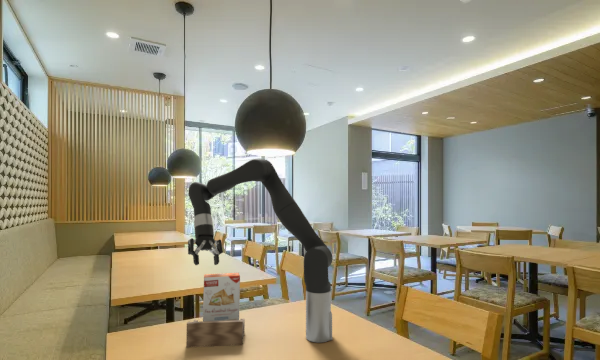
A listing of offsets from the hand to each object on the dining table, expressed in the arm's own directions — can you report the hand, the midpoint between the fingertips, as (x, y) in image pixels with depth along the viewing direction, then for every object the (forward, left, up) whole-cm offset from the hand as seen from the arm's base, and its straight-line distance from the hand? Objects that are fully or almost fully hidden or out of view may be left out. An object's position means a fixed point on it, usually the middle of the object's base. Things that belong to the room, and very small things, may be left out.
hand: (207, 264), depth 134 cm
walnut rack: (-6, +11, -25) cm, 28 cm away
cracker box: (-6, +1, -25) cm, 26 cm away
